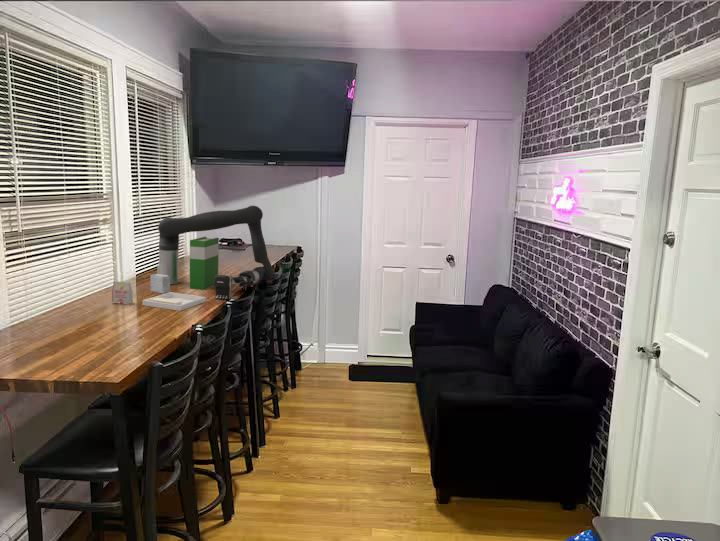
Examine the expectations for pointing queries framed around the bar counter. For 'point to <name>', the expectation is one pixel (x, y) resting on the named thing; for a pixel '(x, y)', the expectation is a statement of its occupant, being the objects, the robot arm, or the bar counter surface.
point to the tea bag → (122, 292)
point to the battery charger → (222, 287)
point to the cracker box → (167, 301)
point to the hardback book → (203, 262)
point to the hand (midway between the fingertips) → (232, 283)
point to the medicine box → (160, 283)
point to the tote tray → (186, 299)
